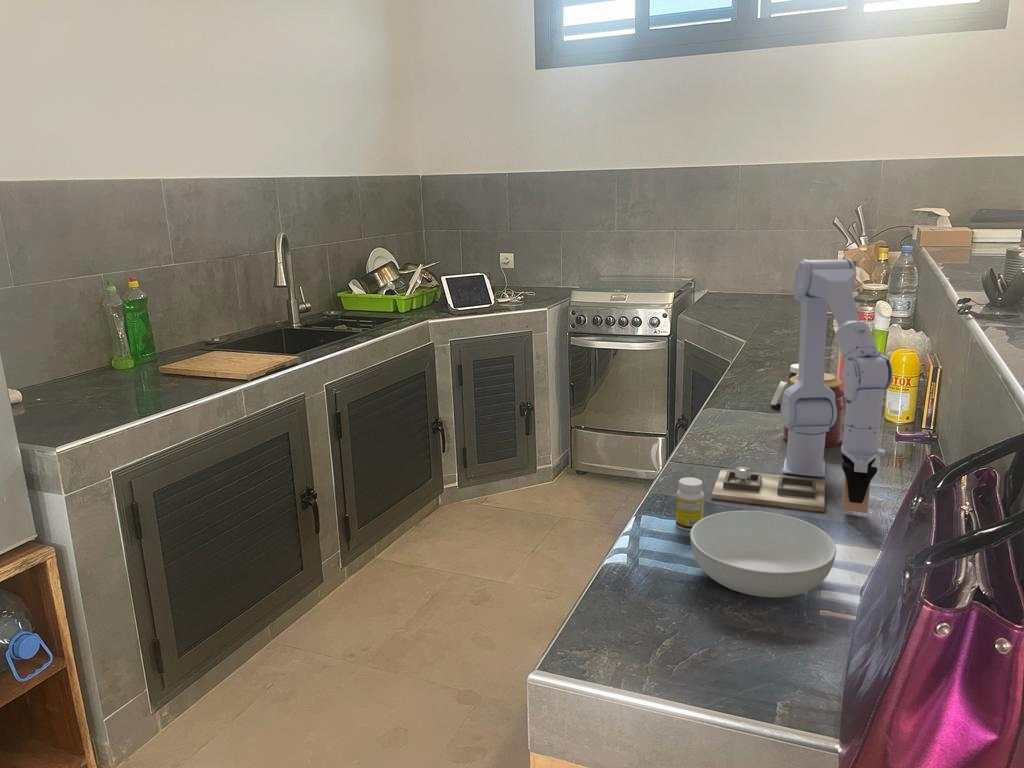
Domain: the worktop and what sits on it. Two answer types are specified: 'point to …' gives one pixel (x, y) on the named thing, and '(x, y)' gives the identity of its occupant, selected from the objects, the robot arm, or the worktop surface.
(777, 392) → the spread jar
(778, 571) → the serving bowl
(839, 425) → the canister
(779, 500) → the board
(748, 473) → the pin
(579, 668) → the worktop surface
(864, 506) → the tan tall block
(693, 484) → the supplement bottle
